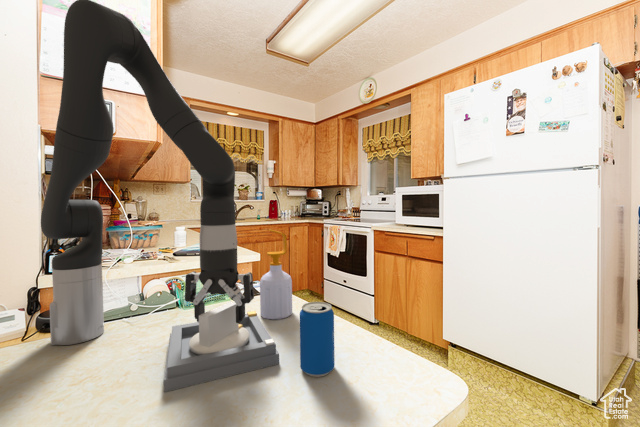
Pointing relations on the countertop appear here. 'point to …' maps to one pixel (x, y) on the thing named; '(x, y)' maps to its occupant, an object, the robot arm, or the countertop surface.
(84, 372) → the countertop surface
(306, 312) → the beverage can
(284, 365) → the countertop surface
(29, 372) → the countertop surface
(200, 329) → the dial knob
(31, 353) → the countertop surface
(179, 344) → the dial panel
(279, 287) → the soap bottle
